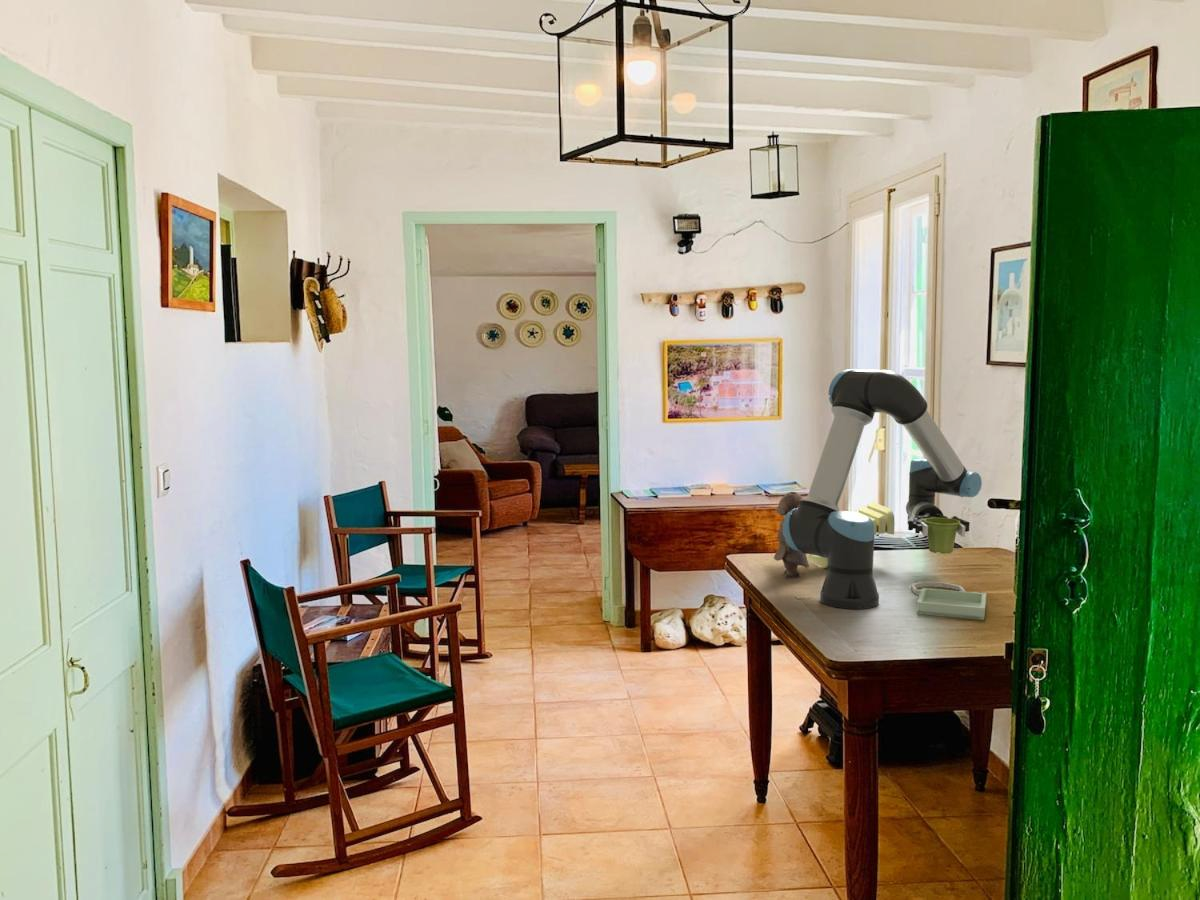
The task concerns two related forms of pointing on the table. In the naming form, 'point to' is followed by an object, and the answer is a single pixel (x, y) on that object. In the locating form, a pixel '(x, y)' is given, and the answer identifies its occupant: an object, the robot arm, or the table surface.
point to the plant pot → (941, 534)
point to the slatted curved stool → (881, 521)
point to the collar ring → (936, 584)
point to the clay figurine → (784, 551)
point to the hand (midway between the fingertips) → (945, 531)
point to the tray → (952, 603)
